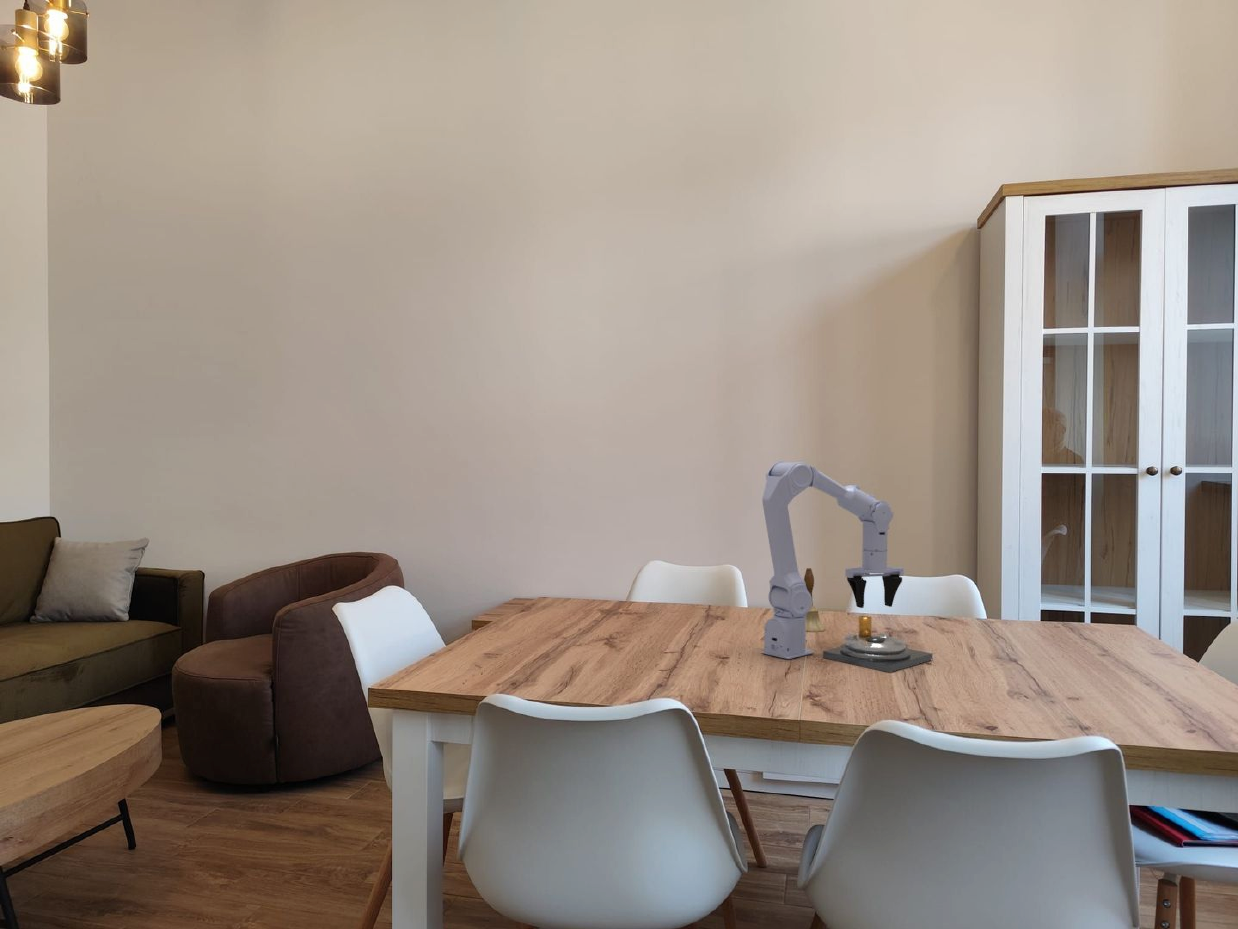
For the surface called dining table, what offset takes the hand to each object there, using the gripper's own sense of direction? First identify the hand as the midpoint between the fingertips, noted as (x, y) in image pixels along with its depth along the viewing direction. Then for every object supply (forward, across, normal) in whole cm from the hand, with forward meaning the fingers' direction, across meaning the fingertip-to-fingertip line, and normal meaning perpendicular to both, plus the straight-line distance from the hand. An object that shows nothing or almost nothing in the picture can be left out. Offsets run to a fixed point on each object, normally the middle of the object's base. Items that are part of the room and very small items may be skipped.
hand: (874, 606), depth 203 cm
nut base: (+9, +7, +12) cm, 17 cm away
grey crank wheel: (+7, +7, +12) cm, 16 cm away
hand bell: (+10, +6, -22) cm, 24 cm away
